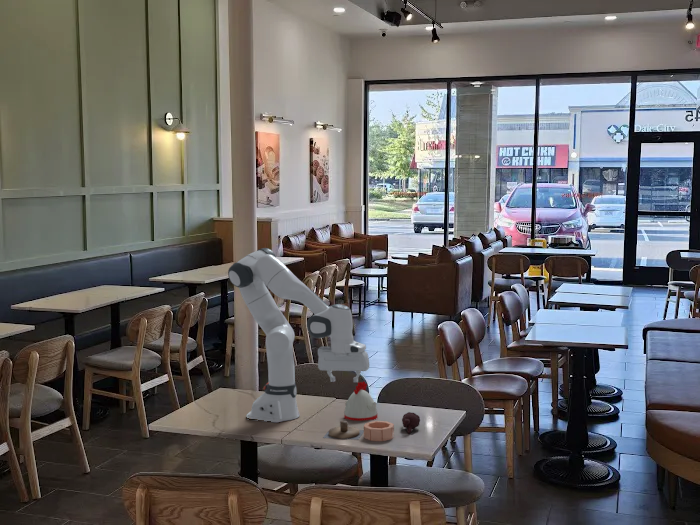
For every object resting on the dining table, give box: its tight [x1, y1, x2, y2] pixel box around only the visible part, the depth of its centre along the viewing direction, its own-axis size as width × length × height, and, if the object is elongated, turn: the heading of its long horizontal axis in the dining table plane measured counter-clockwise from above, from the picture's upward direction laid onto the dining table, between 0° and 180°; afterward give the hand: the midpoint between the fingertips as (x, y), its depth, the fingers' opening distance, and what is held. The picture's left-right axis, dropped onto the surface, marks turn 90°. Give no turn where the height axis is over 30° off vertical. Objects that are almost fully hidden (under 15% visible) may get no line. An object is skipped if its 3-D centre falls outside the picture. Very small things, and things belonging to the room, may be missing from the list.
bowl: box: [363, 420, 395, 442], centre depth 305 cm, size 11×11×5 cm
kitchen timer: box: [343, 380, 378, 422], centre depth 333 cm, size 14×14×15 cm
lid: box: [328, 420, 361, 440], centre depth 309 cm, size 12×12×5 cm
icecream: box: [401, 411, 421, 434], centre depth 316 cm, size 7×7×15 cm
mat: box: [322, 429, 364, 441], centre depth 309 cm, size 14×12×1 cm
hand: (344, 381), depth 309 cm, fingers open, 8 cm apart
